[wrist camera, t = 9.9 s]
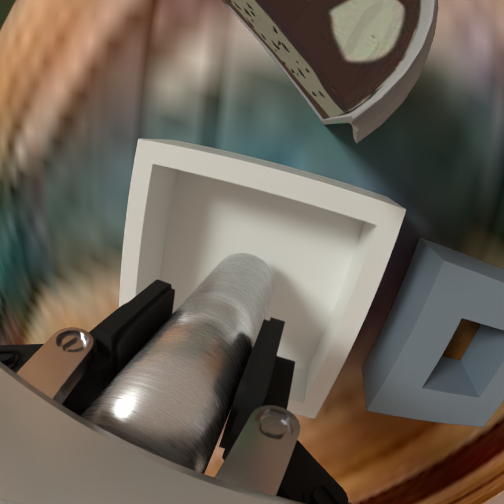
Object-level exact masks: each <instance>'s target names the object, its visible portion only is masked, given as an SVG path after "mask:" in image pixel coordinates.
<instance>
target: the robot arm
mask: <svg viewBox="0 0 504 504" xmlns="http://www.w3.org/2000/svg"><path fill="white" fill-rule="evenodd" d="M174 297H175V289H172V285H171V284H169V283H167V282H164V281H161V280H158V279H157V280H155V281H154V282H153V283H151V284H150V285H149V286H148V287H146V288H145V289H144V290H143V291H141V292H140V293H139V294H138V295H137V296H135V297H134V298H133V299H132V300H130V301H129V302H128V303H125V304H123V305H122V306H121V307H119V308H118V309H117V310H116V311H114V312H113V313H112V314H111V315H110V316H108V317H107V318H106V319H105V320H103V321H102V322H101V323H100V324H99V325H97V326H96V327H95V328H94V329H93V330H91V331H90V332H89V333H88V332H87V331H85V330H83V329H79V328H72V327H70V328H64V329H61V330H59V331H57V332H56V333H55V334H54V335H53V336H52V337H51V338H50V339H49V340H48V341H47V342H46V343H45V344H29V345H1V346H0V504H352V503H350V502H348V497H347V494H346V492H345V491H344V490H343V488H342V487H341V486H340V485H339V484H338V483H337V482H336V481H335V480H334V479H333V478H332V477H331V476H330V475H329V474H328V473H327V472H326V470H325V469H324V468H323V467H322V466H321V465H320V464H319V463H318V462H317V461H316V460H315V459H314V458H313V457H312V455H311V454H310V453H309V452H308V451H307V450H306V449H305V448H304V447H303V446H302V444H301V443H300V442H299V441H298V440H297V438H298V436H299V433H300V424H299V421H298V419H297V418H296V417H295V415H293V414H292V413H291V412H290V411H288V410H287V407H288V401H289V396H290V390H291V385H292V379H293V374H294V368H295V361H293V360H289V359H286V358H282V357H279V356H277V352H278V348H279V344H280V340H281V337H282V333H283V329H284V325H285V321H282V320H279V319H275V318H272V317H271V318H270V321H268V320H265V319H264V320H263V323H262V326H261V328H260V331H259V334H258V336H257V339H256V341H255V344H254V347H253V349H252V352H251V355H250V357H249V360H248V362H247V365H246V368H245V370H244V373H243V375H242V378H241V380H240V383H239V386H238V389H237V392H236V395H235V398H234V401H233V405H232V408H231V411H230V414H229V417H228V420H227V424H226V427H225V430H224V433H223V436H222V439H221V442H220V446H219V447H222V448H225V450H224V453H223V456H222V458H223V459H224V463H223V464H222V466H221V468H220V469H219V471H218V473H217V474H216V476H215V478H214V477H211V476H208V475H205V474H202V473H199V472H197V471H194V470H191V469H189V468H186V467H183V466H181V465H178V464H176V463H173V462H171V461H168V460H166V459H164V458H161V457H159V456H157V455H155V454H152V453H150V452H148V451H146V450H143V449H141V448H139V447H137V446H135V445H133V444H131V443H129V442H127V441H125V440H123V439H121V438H119V437H117V436H115V435H113V434H111V433H109V432H107V431H105V430H103V429H102V428H100V427H98V426H96V425H94V424H93V423H91V422H89V421H87V420H86V419H84V418H82V417H81V416H82V415H83V413H84V412H85V411H86V410H87V409H88V408H89V407H90V405H91V404H92V403H93V402H94V401H95V400H96V399H97V398H98V396H99V395H100V394H101V393H102V392H103V391H104V390H105V389H106V387H107V386H108V385H109V384H110V383H111V382H112V381H113V380H114V378H115V377H116V376H117V375H118V374H119V373H120V372H121V371H122V369H123V368H124V367H125V366H126V365H127V364H128V363H129V362H130V361H131V359H132V358H133V357H134V356H135V355H136V354H137V353H138V352H139V351H140V349H141V348H142V347H143V346H144V345H145V344H146V343H147V342H148V341H149V339H150V338H151V337H152V336H153V335H154V334H155V333H156V332H157V331H158V330H159V328H160V327H161V326H162V325H163V324H164V323H165V322H166V321H167V320H168V319H169V317H170V316H171V315H172V311H173V304H174Z"/></svg>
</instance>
